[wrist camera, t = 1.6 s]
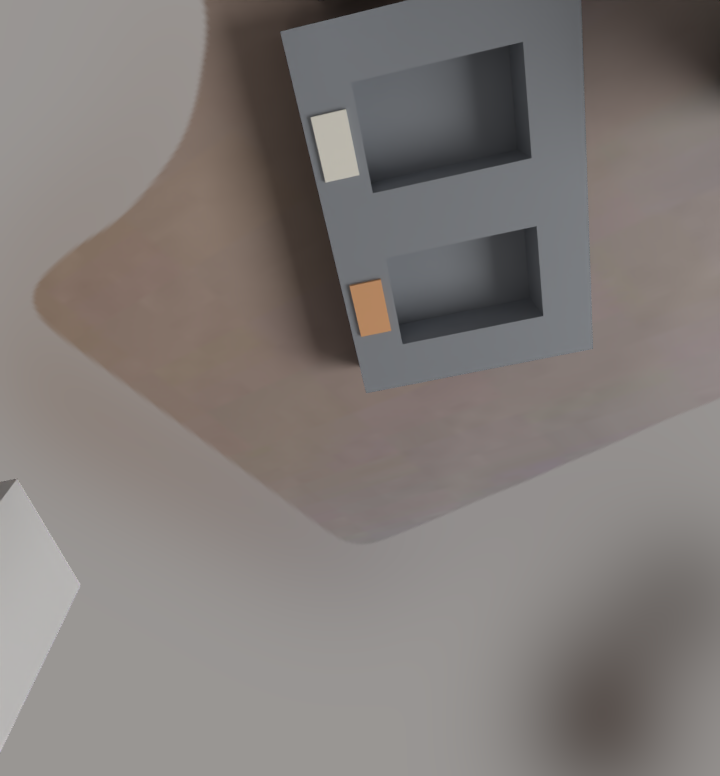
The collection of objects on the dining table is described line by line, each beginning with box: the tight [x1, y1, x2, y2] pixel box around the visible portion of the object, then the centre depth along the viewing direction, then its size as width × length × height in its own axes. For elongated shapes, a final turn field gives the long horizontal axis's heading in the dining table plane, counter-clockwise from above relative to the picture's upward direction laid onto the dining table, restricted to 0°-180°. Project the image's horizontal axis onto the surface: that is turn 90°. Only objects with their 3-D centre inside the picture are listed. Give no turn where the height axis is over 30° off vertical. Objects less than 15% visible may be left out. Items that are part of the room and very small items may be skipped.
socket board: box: [280, 0, 593, 393], centre depth 35 cm, size 20×14×4 cm
